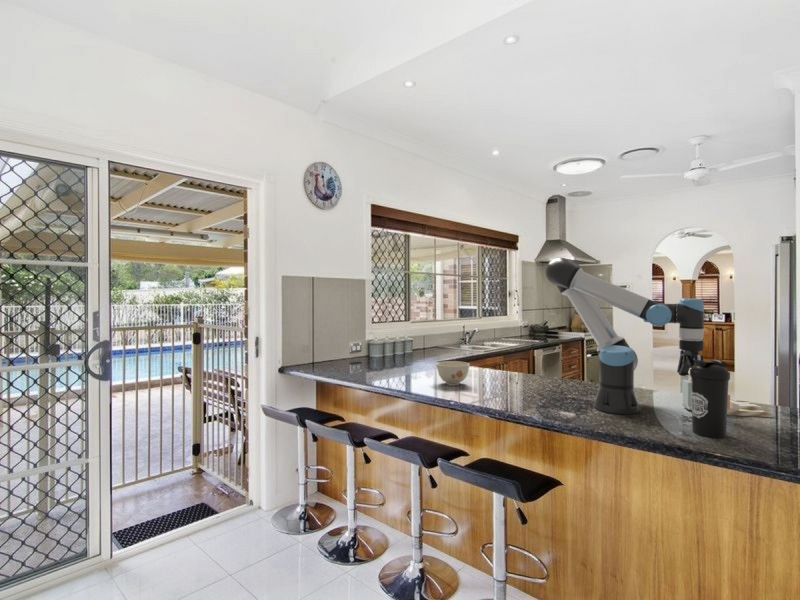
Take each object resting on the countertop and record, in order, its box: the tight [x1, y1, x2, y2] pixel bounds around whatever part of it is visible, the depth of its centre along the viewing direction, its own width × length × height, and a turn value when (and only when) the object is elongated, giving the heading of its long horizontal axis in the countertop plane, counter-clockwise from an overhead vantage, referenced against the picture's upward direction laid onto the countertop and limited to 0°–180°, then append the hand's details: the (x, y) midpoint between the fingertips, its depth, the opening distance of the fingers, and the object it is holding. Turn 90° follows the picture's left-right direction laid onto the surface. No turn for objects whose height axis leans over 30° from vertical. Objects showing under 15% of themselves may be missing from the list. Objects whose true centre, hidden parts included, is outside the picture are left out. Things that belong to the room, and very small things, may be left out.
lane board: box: [727, 399, 775, 418], centre depth 160 cm, size 21×16×2 cm
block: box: [727, 393, 731, 409], centre depth 157 cm, size 5×5×5 cm
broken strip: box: [735, 402, 758, 406], centre depth 163 cm, size 16×6×1 cm, turn 76°
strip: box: [681, 379, 739, 411], centre depth 158 cm, size 16×6×10 cm, turn 76°
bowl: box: [436, 360, 470, 387], centre depth 206 cm, size 16×16×10 cm
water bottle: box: [689, 359, 731, 439], centre depth 133 cm, size 10×10×23 cm
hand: (690, 396), depth 160 cm, fingers open, 12 cm apart
